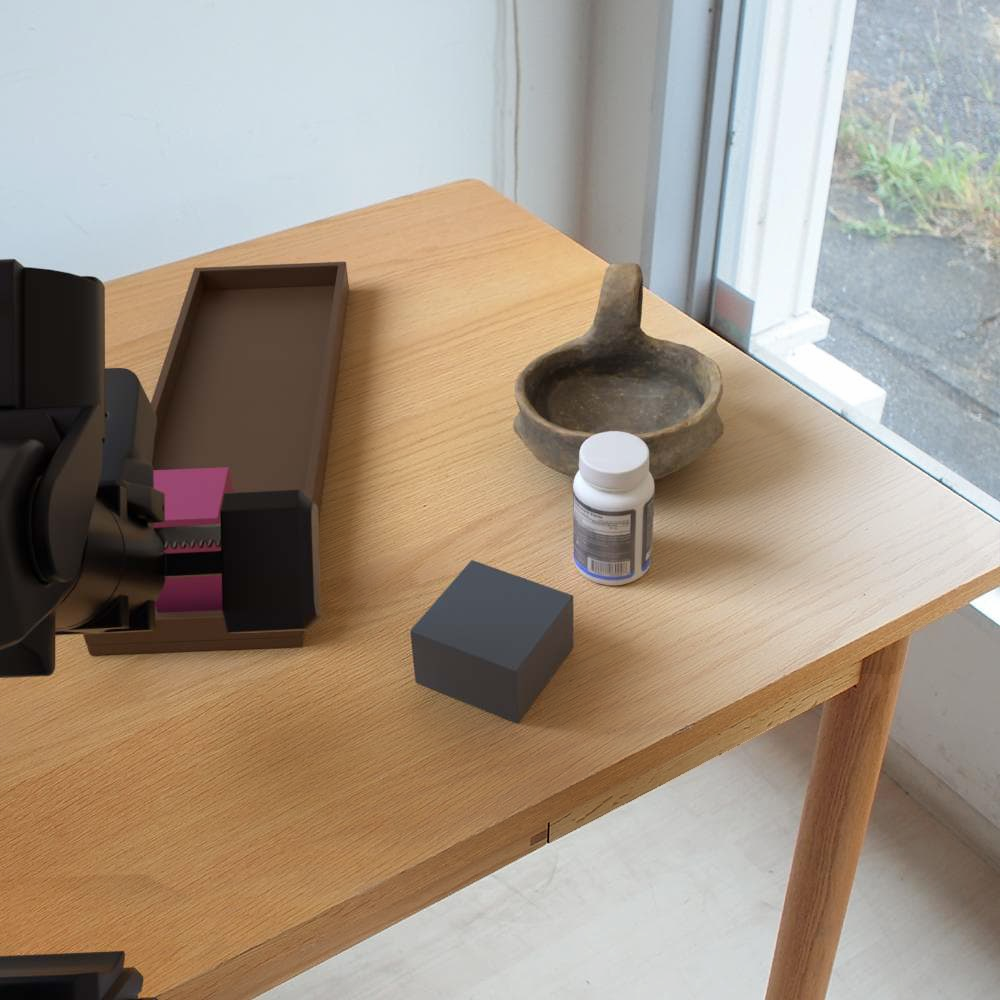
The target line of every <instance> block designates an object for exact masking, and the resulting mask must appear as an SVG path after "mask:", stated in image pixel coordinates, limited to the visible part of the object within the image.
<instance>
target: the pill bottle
mask: <svg viewBox="0 0 1000 1000" xmlns="http://www.w3.org/2000/svg"><path fill="white" fill-rule="evenodd" d="M655 490H656V489H655V480H653V477H652V475H651V473H650V472H649V449H648V447H647V445H646V444H645V442H644V441H643V440H641V439H640V438H639V437H637V436H635V435H632V434H629V433H626V432H620V431H609V432H602V433H598V434H595V435H593V436H591V437H590V438H588V439H587V440H586V441H585V442H584V443H583V444H582V446H581V448H580V453H579V471H578V472H577V474H576V476H575V477H573V481H572V500H573V504H572V506H573V512H572V514H573V515H572V517H573V520H572V521H573V522H572V525H573V530H572V532H573V533H572V534H573V562H574V566H575V568H576V570H577V571H578V572H579V573H580V574H581V575H582V576H583V577H585V578H586V579H587V580H589V581H591V582H593V583H596V584H598V585H604V586H621V585H626V584H630V583H632V582H635V581H636V580H639V579H640V578H641V577H643V576H644V575H645V574H646V573H647V571H649V568H650V567H651V564H652V556H653V555H652V554H653V532H654V516H655V515H654V513H655V511H654V510H655V509H654V508H655Z"/></svg>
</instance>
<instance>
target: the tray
mask: <svg viewBox="0 0 1000 1000" xmlns="http://www.w3.org/2000/svg"><path fill="white" fill-rule="evenodd" d="M347 267H348V266H347V262H346V261H327V262H326V261H325V262H324V261H323V262H303V263H302V262H301V263H280V264H279V263H278V264H277V263H276V264H256V265H255V264H254V265H252V264H251V265H231V266H229V265H228V266H208V267H207V266H206V267H194V268H193V271H192V275H191V277H190V281H189V284H188V286H187V290H186V293H185V295H184V298H183V299H184V300H183V301H182V305H181V308H180V311H179V314H178V317H177V321H176V324H175V327H174V330H173V333H172V335H171V339H170V343H169V344H168V345H169V346H168V348H167V352H166V354H165V358H164V361H163V364H162V367H161V369H160V373H159V376H158V379H157V382H156V386H155V388H154V392H153V395H152V398H151V400H150V403H151V405H152V407H153V409H154V411H155V413H156V416H157V429H156V430H155V438H154V449H153V461H152V466H153V470H174V469H198V468H222V467H229V470H230V475H231V480H232V485H233V490H234V493H241V492H261V491H281V490H300V491H301V492H303V493H304V494H305V495H306V496H307V497H308V498H309V499H310V500H311V501H313V502H314V503H315V504H316V505H317V506H318V526H319V525H320V516H321V508H322V500H323V494H324V487H325V486H324V485H325V477H326V471H327V463H328V454H329V447H330V440H331V433H332V425H333V416H334V409H335V402H336V401H335V400H336V393H337V386H338V379H339V378H338V377H339V371H340V362H341V354H342V347H343V339H344V332H345V326H346V325H345V324H346V318H347V317H346V316H347V309H348V303H349V293H350V286H349V277H348V268H347ZM155 617H156V631H141V632H121V633H100V634H82V635H83V639H84V642H85V645H86V648H87V651H88V654H89V655H90V656H101V655H102V656H105V655H124V654H125V655H128V654H129V655H130V654H131V655H132V654H153V653H174V652H175V653H177V652H198V651H199V652H202V651H224V650H225V651H226V650H249V649H250V650H251V649H273V648H274V649H275V648H297V647H298V648H301V647H303V645H304V640H305V639H304V638H305V632H306V630H302V631H282V632H261V633H227V629H226V624H225V620H224V615H223V611H222V610H214V611H190V612H165V613H157V609H156V606H155Z"/></svg>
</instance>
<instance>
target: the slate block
mask: <svg viewBox="0 0 1000 1000" xmlns="http://www.w3.org/2000/svg"><path fill="white" fill-rule="evenodd" d="M409 633H410V643H411V644H410V645H411V653H412V663H413V672H414V681H415V683H416V684H419V685H421V686H423V687H426V688H428V689H431V690H433V691H436V692H438V693H441V694H442V695H443V694H444V695H446V696H448V697H451V698H453V699H456V700H458V701H461V702H463V703H466V704H467V705H471V706H473V707H475V708H478V709H480V710H482V711H485V712H488V713H489V714H493V715H495V716H498V717H500V718H503V719H505V720H508V721H509V722H510V721H511V722H512V723H515V724H519V723H520V722H521V720H522V719H523V718H524V716H525V715H526V713H527V712H528V711H529V710H530V708H531V706H532V705H533V704H534V702H536V699H537V698H538V697H539V696H540V694H541V693H542V691H543V690H544V689H545V687H546V686H547V684H548V683H549V682H550V681H551V679H552V678H553V677H554V675H555V674H556V672H557V671H558V670H559V668H560V667H561V665H562V664H563V662H565V660H566V658H567V657H568V656H569V654H570V653H571V652H572V650H573V649H574V594H573V595H572V594H570V593H567V592H564V591H561V590H558V589H556V588H553V587H550V586H547V585H544V584H541V583H539V582H537V581H536V582H535V581H532V580H530V579H527V578H524V577H521V576H519V575H515V574H513V573H509V572H507V571H504V570H501V569H499V568H496V567H493V566H491V565H487V564H485V563H482V562H480V561H479V562H478V561H476V560H474V559H471V560H470V561H469V562H468V563H467V565H466V566H465V567H464V568H463V569H462V570H461V571H460V572H459V574H458V575H457V576H456V577H455V578H454V579H453V581H452V582H451V583H449V585H448V586H447V587H446V588H445V590H444V591H443V592H442V593H441V594H440V595H439V596H438V598H437V599H436V600H435V601H434V602H433V603H432V605H431V606H430V607H429V608H428V609H427V610H426V611H425V613H424V614H423V615H422V616H421V617H420V619H419V620H418V621H417V622H416V623H415V624H414V625H413V626H412V628H411V629H410V630H409Z"/></svg>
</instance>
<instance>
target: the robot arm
mask: <svg viewBox="0 0 1000 1000" xmlns="http://www.w3.org/2000/svg"><path fill="white" fill-rule="evenodd" d="M105 295H106V287H105V284H104V283H103V281H102V280H100V279H99V278H98V277H96V276H92V275H78V274H74V273H71V272H66V271H60V270H55V269H48V268H40V267H31V266H29V267H28V266H24V265H23V264H22V263H20V262H19V261H18V260H17V259H15V258H2V259H0V679H11V678H12V679H14V678H37V677H49V676H51V675H53V674H54V672H55V671H56V637H57V636H58V637H59V636H77V635H83V634H100V633H121V632H141V631H156V617H155V601H157V600H158V598H159V596H160V594H161V592H162V589H163V587H164V583H165V579H166V578H180V577H200V576H220V575H222V611H223V615H224V620H225V624H226V629H227V633H261V632H282V631H302V630H305V631H310V630H311V629H312V628H313V627H314V626H315V625H316V624H317V623H318V622H319V621H320V620H321V618H322V593H321V591H322V590H321V588H322V587H321V564H320V563H321V562H320V561H321V559H320V529H319V525H318V506H317V505H316V504H315V503H314V502H313V501H311V500H310V499H309V498H308V497H307V496H306V495H305V494H304V493H303V492H301V491H300V490H281V491H261V492H241V493H224V496H223V501H222V505H221V510H220V523H221V524H217V525H197V526H176V527H156V528H154V523H159V522H164V521H165V494H164V493H162V492H160V491H158V490H156V489H154V473H153V466H152V461H153V449H154V438H155V430H156V429H157V416H156V413H155V411H154V409H153V407H152V405H151V400H149V397H148V395H147V393H146V391H145V388H144V387H143V386H142V383H141V381H140V379H139V377H138V375H137V374H136V373H135V372H134V371H132V370H131V369H128V368H126V367H108V368H107V367H106V319H105V318H106V308H105V307H106V296H105ZM196 542H197V545H198V547H199V548H203V546H204V543H205V542H206V545H207V547H208V548H211V547H212V544H213V542H215V545H216V547H220V546H221V551H206V552H186V553H166V554H165V550H168V547H169V544H170V545H171V547H172V549H173V550H176V549H177V546H178V543H179V545H180V547H181V549H185V548H186V545H187V543H188V545H189V547H190V548H191V549H194V547H195V544H196ZM125 960H126V953H125V950H113V951H112V950H111V951H109V950H108V951H90V952H88V951H87V952H65V953H40V954H39V953H38V954H16V955H14V954H13V955H0V1000H159V998H158V997H156V996H152V997H151V996H150V997H149V996H148V997H139V994H141V993H142V992H143V985H144V975H143V974H142V973H141V972H140V970H138V969H137V968H136V967H135V966H128V967H124V966H125Z"/></svg>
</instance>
